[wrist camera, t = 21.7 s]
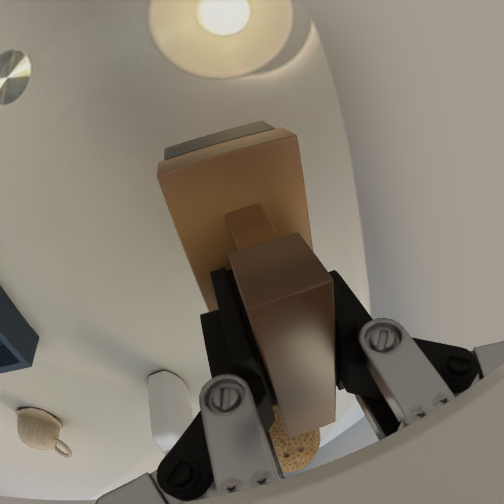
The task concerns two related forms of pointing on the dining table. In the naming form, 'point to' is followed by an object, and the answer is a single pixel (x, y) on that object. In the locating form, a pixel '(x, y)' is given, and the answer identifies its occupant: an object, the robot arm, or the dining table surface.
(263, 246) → the brush
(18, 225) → the dining table surface
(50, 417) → the decorative ornament
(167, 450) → the eye dropper bottle
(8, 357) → the tray
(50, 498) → the dining table surface
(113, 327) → the dining table surface
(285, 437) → the natural sponge
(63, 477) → the dining table surface
